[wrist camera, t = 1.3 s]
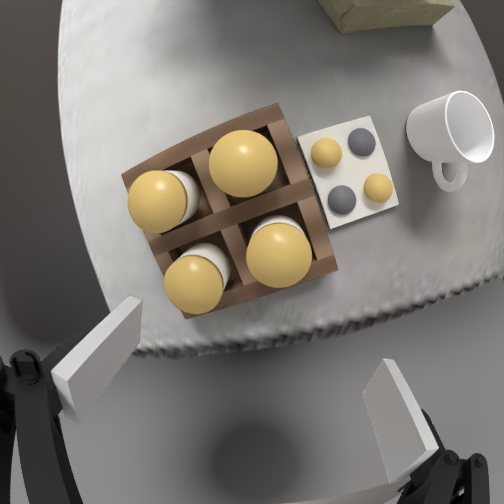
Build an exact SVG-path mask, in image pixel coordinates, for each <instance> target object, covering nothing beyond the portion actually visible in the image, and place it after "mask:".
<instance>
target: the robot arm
mask: <svg viewBox="0 0 504 504" xmlns="http://www.w3.org/2000/svg"><path fill="white" fill-rule="evenodd" d="M141 314H142V300H141V299H138V298H135V297H132V296H129V297H128V298H126V299H125V300H124V301H123V302H122V303H121V304H120V305H119V306H118V307H117V308H115V309H114V310H113V311H112V312H111V313H110V314H109V315H108V316H107V317H106V318H105V319H104V320H103V321H101V322H100V323H99V324H98V325H97V326H96V327H95V328H94V329H93V330H92V331H91V332H90V333H89V334H88V335H87V336H84V335H82V334H80V333H76V334H73V335H71V336H68V337H67V338H66V339H65V340H64V341H63V342H62V344H60V345H59V346H57V348H56V349H54V350H53V351H52V352H51V353H50V354H49V355H48V356H47V357H46V358H44V360H42V361H40V357H39V356H38V355H37V353H35V352H33V351H31V350H26V349H25V350H19V351H17V352H15V353H14V354H13V355H12V356H11V358H10V364H11V367H9V366H6V365H4V363H3V361H2V358H1V357H0V504H10V481H11V464H12V455H13V447H14V439H15V433H16V430H17V441H18V449H19V456H20V463H21V469H22V474H23V478H24V483H25V488H26V492H27V496H28V499H29V503H30V504H83V502H82V499H81V496H80V494H79V491H78V488H77V485H76V482H75V479H74V476H73V473H72V470H71V466H70V463H69V459H68V455H67V451H66V447H65V443H64V439H63V434H62V429H61V424H60V419H59V416H58V414H59V413H60V411H61V410H62V409H63V411H64V414H65V417H67V418H68V419H70V420H72V421H73V422H75V423H77V424H79V425H81V424H82V422H83V421H84V419H85V418H86V416H87V415H88V413H89V412H90V411H91V409H92V408H93V406H94V405H95V403H96V402H97V400H98V399H99V398H100V396H101V395H102V393H103V392H104V391H105V389H106V388H107V386H108V385H109V384H110V382H111V381H112V379H113V378H114V377H115V375H116V374H117V372H118V371H119V370H120V368H121V367H122V366H123V364H124V363H125V362H126V360H127V359H128V357H129V356H130V355H131V353H132V352H133V351H134V349H135V348H136V347H137V345H138V344H139V343H140V330H141ZM362 396H363V399H364V402H365V405H366V408H367V411H368V414H369V418H370V421H371V424H372V427H373V430H374V433H375V436H376V440H377V443H378V447H379V450H380V453H381V457H382V460H383V464H384V467H385V471H386V475H387V478H388V482H389V484H390V483H396V482H402V481H403V480H404V479H405V478H407V477H408V476H409V475H410V477H411V480H410V481H409V482H407V483H406V484H405V485H404V486H402V487H401V488H400V489H399V490H398V491H397V492H400V491H401V490H403V489H404V490H403V492H402V493H401V496H400V498H399V500H398V502H397V504H490V496H489V495H490V494H489V475H488V466H487V461H486V459H485V457H484V456H483V455H482V454H479V453H475V454H473V455H472V456H471V457H470V458H469V459H468V460H466V459H459V456H458V455H457V454H456V453H455V452H454V451H452V450H445V448H444V446H443V444H442V442H441V440H440V437H439V435H438V434H437V432H436V430H435V427H434V425H433V424H432V421H431V419H430V418H429V416H428V415H427V413H426V412H425V411H424V410H423V409H420V408H419V406H418V404H417V402H416V400H415V398H414V397H413V394H412V392H411V390H410V389H409V387H408V385H407V383H406V381H405V379H404V377H403V376H402V374H401V372H400V370H399V368H398V367H397V365H396V363H395V361H394V360H392V359H385V358H383V359H382V361H381V363H380V365H379V366H378V368H377V370H376V371H375V373H374V375H373V376H372V378H371V379H370V381H369V383H368V384H367V386H366V387H365V389H364V390H363V392H362ZM462 489H464V493H463V494H462V495H460V496H459V492H460V491H461V490H462Z"/></svg>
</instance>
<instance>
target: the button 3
mask: <svg viewBox="0 0 504 504" xmlns="http://www.w3.org/2000/svg"><path fill="white" fill-rule="evenodd" d="M277 165H278V162H277V155H276V152H275V150H274V148H273V146H272V144H271V143H270V142H269V141H268V140H267V139H266V138H265V137H264V136H262V135H261V134H259V133H256V132H253V131H249V130H238V131H234V132H231V133H228V134H226V135H225V136H223V137H222V138H221V139H220V140H219V141H218V142H217V143H216V144H215V146H214V147H213V149H212V151H211V154H210V158H209V170H210V174H211V177H212V179H213V181H214V182H215V184H216V185H217V186H218V187H219V188H220V189H221V190H222V191H224V192H225V193H227V194H229V195H232V196H235V197H251V196H254V195H257V194H259V193H261V192H262V191H264V190H265V189H266V188H267V187H268V186H269V185H270V184H271V182H272V181H273V179H274V177H275V175H276V172H277Z"/></svg>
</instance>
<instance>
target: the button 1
mask: <svg viewBox="0 0 504 504" xmlns="http://www.w3.org/2000/svg"><path fill="white" fill-rule="evenodd" d="M200 200H201V194H200V189H199V186H198V184H197V182H196V181H195V179H194V178H193V177H192V176H190V175H189V174H187V173H185V172H182V171H149V172H146V173H144V174H142V175H141V176H139V177H138V178H137V179H136V180H135V181H134V183H133V184H132V186H131V188H130V191H129V194H128V209H129V213H130V215H131V217H132V219H133V221H134V222H135V223H136V224H137V225H138V226H139V227H140V228H141V229H143V230H145V231H147V232H150V233H163V232H166V231H168V230H170V229H172V228H173V227H175V226H177V225H179V224H181V223H182V222H184V221H186V220H188V219H189V218H191V217H192V216H193V215H194V214H195V213H196V211H197V209H198V207H199V205H200Z"/></svg>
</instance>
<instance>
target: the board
mask: <svg viewBox="0 0 504 504" xmlns="http://www.w3.org/2000/svg"><path fill="white" fill-rule="evenodd" d="M238 130H249V131H253V132H256V133H259V134H261V135H262V136H264V137H265V138H266V139H267V140H268V141H269V142H270V143H271V144H272V146H273V148H274V150H275V152H276V155H277V162H278V165H277V172H276V175H275V177H274V179H273V181H272V182H271V184H270V185H269V186H268V187H267V188H266V189H265V190H264V191H262V192H261V193H259V194H257V195H254V196H251V197H235V196H232V195H229V194H227V193H225V192H224V191H222V190H221V189H220V188H219V187H218V186H217V185H216V184H215V182H214V181H213V179H212V177H211V174H210V170H209V158H210V154H211V151H212V149H213V147H214V146H215V144H216V143H217V142H218V141H219V140H220V139H221V138H222V137H223V136H225V135H226V134H228V133H231V132H234V131H238ZM149 171H182V172H185V173H187V174H189V175H190V176H192V177H193V178H194V179H195V181H196V182H197V184H198V186H199V189H200V194H201V200H200V205H199V207H198V209H197V211H196V213H195V214H194V215H193V216H192V217H191V218H189V219H188V220H186V221H184V222H182V223H181V224H179V225H177V226H175V227H173V228H172V229H170V230H168V231H166V232H163V233H150V232H147V231H145V230H143V232H144V234H145V236H146V238H147V241H148V243H149V245H150V248H151V250H152V252H153V254H154V256H155V259H156V261H157V263H158V265H159V267H160V269H161V272H162V274H163V276H164V277H165V273H166V271H167V269H168V268H169V267H170V266H171V265H172V264H173V263H174V262H175V261H176V260H177V259H178V258H179V257H180V256H181V255H182V254H183V253H185V252H186V251H187V250H188V249H189V248H190V247H192V246H193V245H195V244H198V243H210V244H213V245H216V246H218V247H219V248H221V249H222V250H223V251H224V252H225V253H226V255H227V256H228V258H229V261H230V265H231V273H230V277H229V279H228V281H227V284H226V286H225V289H224V291H223V293H222V296H221V298H220V300H219V302H218V304H217V305H216V306H215V307H214V308H213V309H212V310H210V311H208V312H206V313H209V312H213V311H216V310H219V309H223V308H226V307H229V306H232V305H236V304H239V303H242V302H245V301H248V300H252V299H255V298H258V297H261V296H264V295H267V294H270V293H273V292H276V291H279V290H282V289H285V288H288V287H291V286H294V285H297V284H300V283H303V282H306V281H309V280H312V279H314V278H317V277H320V276H323V275H326V274H329V273H331V272H334V271H337V270H338V267H337V263H336V260H335V257H334V253H333V250H332V247H331V244H330V240H329V237H328V234H327V231H326V228H325V225H324V222H323V219H322V216H321V213H320V210H319V207H318V204H317V201H316V198H315V196H314V193H313V190H312V187H311V184H310V182H309V179H308V176H307V174H306V171H305V168H304V166H303V163H302V160H301V158H300V155H299V153H298V150H297V148H296V145H295V143H294V140H293V138H292V135H291V133H290V130H289V128H288V126H287V123H286V121H285V119H284V116H283V114H282V112H281V109H280V107H279V105H278V103H275V104H272V105H270V106H267V107H264V108H261V109H258V110H256V111H253V112H250V113H248V114H245V115H242V116H240V117H237V118H235V119H232V120H230V121H227V122H225V123H222V124H220V125H218V126H215V127H213V128H211V129H209V130H206V131H204V132H202V133H200V134H197V135H195V136H193V137H191V138H189V139H187V140H185V141H183V142H180V143H178V144H176V145H174V146H172V147H170V148H168V149H166V150H164V151H162V152H161V153H159V154H157V155H155V156H153V157H151V158H149V159H147V160H146V161H144V162H142V163H140V164H138V165H137V166H135V167H133V168H131V169H130V170H128V171H126V172H124V173H123V174H121V176H122V179H123V181H124V184H125V187H126V189H127V192H128V194H129V191H130V188H131V186H132V184H133V183H134V181H135V180H136V179H137V178H138V177H139V176H141V175H142V174H144V173H146V172H149ZM273 215H283V216H287V217H289V218H291V219H293V220H294V221H296V222H297V223H298V224H299V226H300V227H301V229H302V230H303V232H304V234H305V236H306V238H307V240H308V242H309V244H310V247H311V251H312V261H311V265H310V268H309V270H308V272H307V273H306V275H305V276H304V277H303V278H302V279H301V280H300V281H299V282H297V283H295V284H294V285H291V286H288V287H283V288H275V287H270V286H267V285H264V284H262V283H261V282H259V281H258V280H257V279H256V278H255V277H254V276H253V275H252V273H251V272H250V270H249V268H248V265H247V260H246V253H247V248H248V245H249V242H250V239H251V236H252V234H253V231H254V229H255V227H256V226H257V225H258V223H259V222H261V221H262V220H263V219H265V218H267V217H269V216H273ZM181 312H182V314H183V316H184V318H185V319H189V318H192V317H196V316H199V315H203V314H206V313H202V314H190V313H187V312H184V311H182V310H181Z"/></svg>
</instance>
